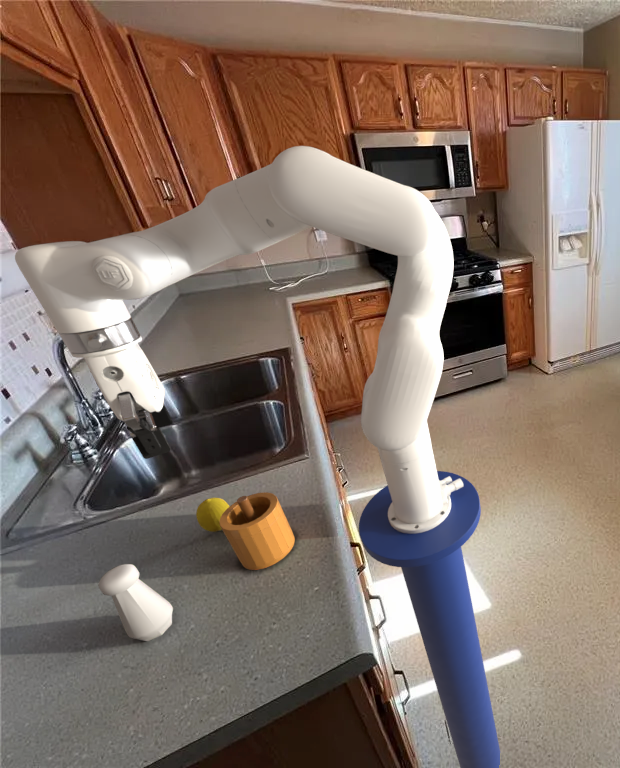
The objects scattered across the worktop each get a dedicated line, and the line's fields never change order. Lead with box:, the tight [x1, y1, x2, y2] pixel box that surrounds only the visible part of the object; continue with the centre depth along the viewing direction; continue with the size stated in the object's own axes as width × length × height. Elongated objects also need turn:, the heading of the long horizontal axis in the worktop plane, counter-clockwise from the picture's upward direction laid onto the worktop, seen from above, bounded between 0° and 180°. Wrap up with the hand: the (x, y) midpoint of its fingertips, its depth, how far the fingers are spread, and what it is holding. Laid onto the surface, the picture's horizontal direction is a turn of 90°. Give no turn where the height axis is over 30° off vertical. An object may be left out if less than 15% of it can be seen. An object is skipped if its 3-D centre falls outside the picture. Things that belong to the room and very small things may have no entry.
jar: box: [219, 491, 296, 571], centre depth 76 cm, size 9×9×10 cm
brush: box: [236, 495, 257, 523], centre depth 75 cm, size 5×5×12 cm
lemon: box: [195, 497, 231, 533], centre depth 82 cm, size 6×6×8 cm
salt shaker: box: [97, 563, 174, 642], centre depth 63 cm, size 6×6×13 cm
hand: (160, 439), depth 65 cm, fingers open, 9 cm apart
